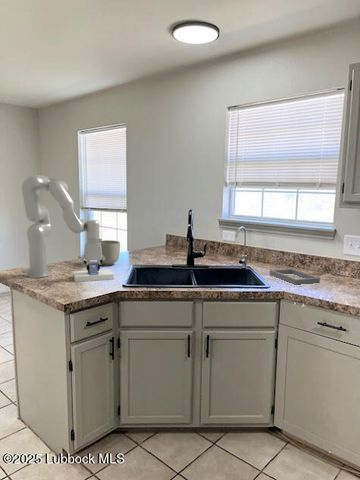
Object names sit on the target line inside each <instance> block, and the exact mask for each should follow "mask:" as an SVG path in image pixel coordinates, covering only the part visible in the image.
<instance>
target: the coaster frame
mask: <svg viewBox="0 0 360 480" xmlns="http://www.w3.org/2000/svg"><path fill="white" fill-rule="evenodd" d="M284 274H294V275H297V276H299V277H302V278H305V279H300V278H296V277H293V276H290V275H284ZM270 275H271V276H274V277H276V278H279V279H281V280H284V281H286V282H289V283H292V284H294V285H301V284H313V283H320V282H321V278H320V277H317V276H314V275H312V274H309V273H307V272H304V271H301V270H298V269H294V268H282V269H269V276H270ZM271 276H270V277H271ZM276 278H275V279H276ZM320 284H321V283H320Z"/></svg>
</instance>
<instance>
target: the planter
mask: <svg viewBox="0 0 360 480" xmlns="http://www.w3.org/2000/svg"><path fill="white" fill-rule="evenodd" d="M100 243H101V249H102V254H103V256H104V257H105V258H106V259H105V260H104V261H103V262H102V263H101V264H100V266H105V267H111V266H114V265H115V263H117V262H118V260H119V258H120V252H121V242H120V241H118V240H108V239H107V240H102V241H100ZM100 260H101V259H100Z"/></svg>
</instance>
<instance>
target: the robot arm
mask: <svg viewBox="0 0 360 480" xmlns="http://www.w3.org/2000/svg"><path fill="white" fill-rule="evenodd" d="M40 190H41V191H42V190H43V191H46V192H49V193H50V194H51V196H52V198H53V199H54V200H55V202H56V204H57V205H58V207H59V209H60V211H61V212H60V213H61V215H62V218H63V221H64V222H65V225H66V226H67V227H68V228H69V230H70V231H71V232H72V233H74V234H81V233H83V232H84V233H85V232H86V234H85V237H86V238H85V239H86V242H85V244H84V250H83V255H82V256H81V258H80V261H81V262H83V263H84V264H85V265H86V271H88V272H89V266H90V261H97V262H96V263H97V264H96V266H97V271H99V270H101V263H102V262H103V261H104V260H105V259H106V258H105V257H104V256H103V254H102V249H101V243H100V241H103V239H102V238H100V221H99V220H97V219H84V218H78V217H77V215H76V213H75V210H74V205H75V203H74V200H73V198H72V197H71V195H70V194H69V192H68V191H69V186H68V184H67V183H66V181H64V180H60V179H56V178H53V177H52V176H51V177H50V176H47V175H41V174H33V175H29V176H27V177H26V178H25V179H24V180H23V182H22V183H21V193H22V198H23V205H24V209H25V215H26V218H27V220H28V221H31V222H34V223H32V224H31V225H29V226H28V228H27V231H26V235H27V242H28V254H29V256H28V257H29V268H28V269H21V273H23V274H26V275H27V276H26V277H28V278H33V279H37V278H38V279H39V278H47V277H49V276H50V272H49V271H48V270H47V269H48V266H47V245H46V244H47V243H46V240H45V238H47V237H49V236H50V235H51V232H52V225H51V219H50V213H49V210H48V208H47V207H46V206H45V205H43V204H41V201H40V197H39V193H38V191H40ZM100 259H101V260H100Z"/></svg>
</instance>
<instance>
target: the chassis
mask: <svg viewBox="0 0 360 480" xmlns="http://www.w3.org/2000/svg"><path fill="white" fill-rule="evenodd" d="M97 273H98V275H89V272H88V270H80V271H78V270H77V271H76V270H75V271H74V270H73V278H74V282H75V283H79V282H93V281H108V280H110V281H111V280H114V275H115V274H114V273H113V271H111V269H99V271H97Z"/></svg>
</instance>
